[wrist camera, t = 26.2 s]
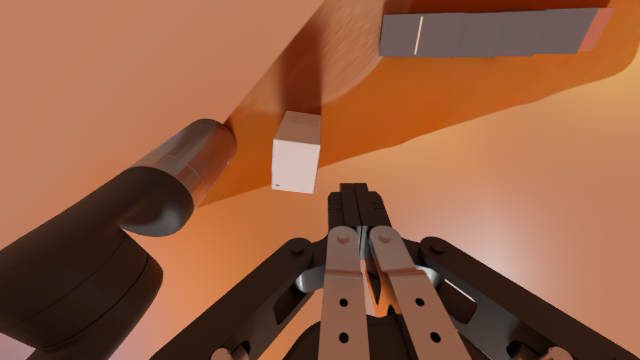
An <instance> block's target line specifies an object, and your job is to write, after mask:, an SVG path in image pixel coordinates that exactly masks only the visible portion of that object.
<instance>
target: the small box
mask: <svg viewBox="0 0 640 360" xmlns="http://www.w3.org/2000/svg"><path fill="white" fill-rule="evenodd" d="M320 148H321V115H315V114H308V113H301V112H294V111H286V113H285V115H284V117H283V120H282V122H281V124H280V126H279V128H278V130H277V133H276V135H275V137H274V139H273V156H272V189H278V190H286V191H295V192H303V193H314V189H315V182H316V176H317V169H318V162H319V155H320Z"/></svg>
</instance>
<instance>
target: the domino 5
mask: <svg viewBox="0 0 640 360" xmlns="http://www.w3.org/2000/svg"><path fill="white" fill-rule="evenodd" d="M614 9H615V8H599V9H598V11H597V13H596V15H595V17H594V19H593V21H592V23H591V25H590V27H589V29H588V31H587V33H586V35H585V37H584V39H583V41H582V43H581V45H580V47H579V49H578V51H593V49H594V47H595V45H596V43H597V41H598V39H599V38H600V36H601V34H602V32H603V30H604V28H605V26H606V24H607V22H608V21H609V19H610V17H611V15H612V13H613V11H614Z"/></svg>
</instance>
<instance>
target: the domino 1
mask: <svg viewBox="0 0 640 360" xmlns="http://www.w3.org/2000/svg"><path fill="white" fill-rule="evenodd" d="M464 16H465V13H431V14H394V15H384V16H383V25H382V34H381V43H380V51H379V56H400V57H450V58H454V54H455V50H456V46H457V43H458V39H459V35H460V31H461V28H462V24H463V20H464Z"/></svg>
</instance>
